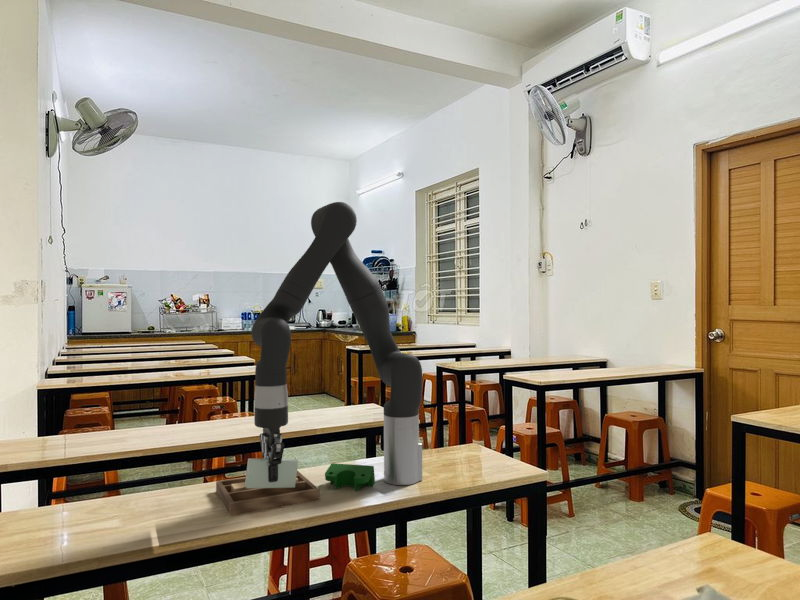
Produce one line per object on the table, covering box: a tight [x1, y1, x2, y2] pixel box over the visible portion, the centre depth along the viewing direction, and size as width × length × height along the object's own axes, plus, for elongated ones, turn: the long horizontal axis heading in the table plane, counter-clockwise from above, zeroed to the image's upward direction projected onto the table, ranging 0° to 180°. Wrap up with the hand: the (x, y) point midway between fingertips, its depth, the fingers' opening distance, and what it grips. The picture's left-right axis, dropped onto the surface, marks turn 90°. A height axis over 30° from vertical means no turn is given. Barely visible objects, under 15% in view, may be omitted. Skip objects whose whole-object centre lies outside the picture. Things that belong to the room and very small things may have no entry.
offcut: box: [231, 482, 256, 492], centre depth 131 cm, size 6×4×3 cm, turn 117°
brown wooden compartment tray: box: [215, 470, 320, 517], centre depth 132 cm, size 20×18×4 cm
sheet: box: [245, 458, 299, 488], centre depth 127 cm, size 6×2×11 cm
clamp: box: [324, 462, 376, 492], centre depth 138 cm, size 12×6×9 cm, turn 71°
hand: (271, 480), depth 127 cm, fingers closed on sheet, 1 cm apart
